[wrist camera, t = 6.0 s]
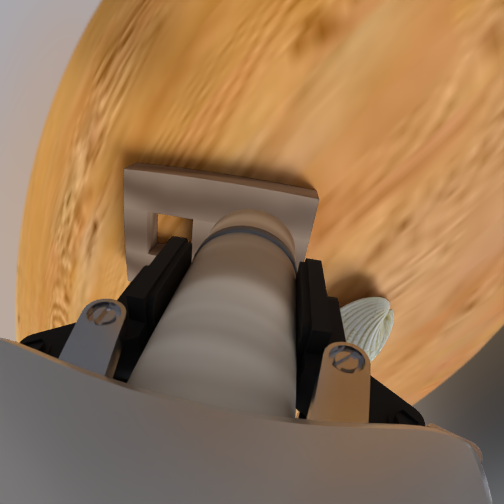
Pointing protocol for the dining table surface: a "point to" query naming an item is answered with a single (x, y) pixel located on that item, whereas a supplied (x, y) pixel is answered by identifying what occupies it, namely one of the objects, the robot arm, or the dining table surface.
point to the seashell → (368, 323)
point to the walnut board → (204, 206)
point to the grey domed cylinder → (231, 322)
